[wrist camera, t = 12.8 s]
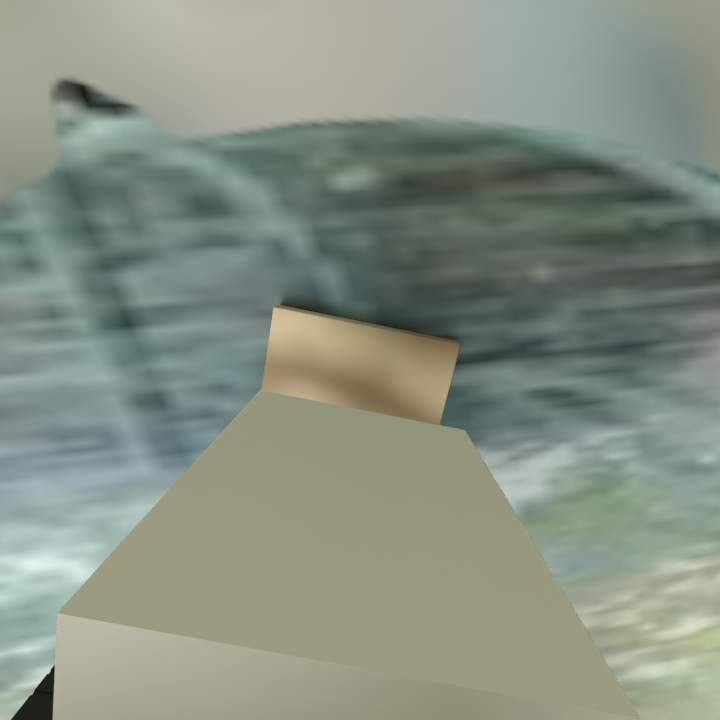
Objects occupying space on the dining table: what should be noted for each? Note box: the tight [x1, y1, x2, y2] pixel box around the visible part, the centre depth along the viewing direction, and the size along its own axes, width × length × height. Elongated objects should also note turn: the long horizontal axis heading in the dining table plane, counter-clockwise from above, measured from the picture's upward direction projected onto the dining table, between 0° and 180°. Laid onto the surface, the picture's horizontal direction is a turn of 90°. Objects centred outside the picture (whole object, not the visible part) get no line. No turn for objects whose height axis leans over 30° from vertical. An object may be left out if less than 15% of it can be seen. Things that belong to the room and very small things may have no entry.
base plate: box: [261, 305, 460, 425], centre depth 34 cm, size 26×14×2 cm, turn 169°
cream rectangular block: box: [53, 390, 641, 720], centre depth 11 cm, size 13×7×9 cm, turn 169°
